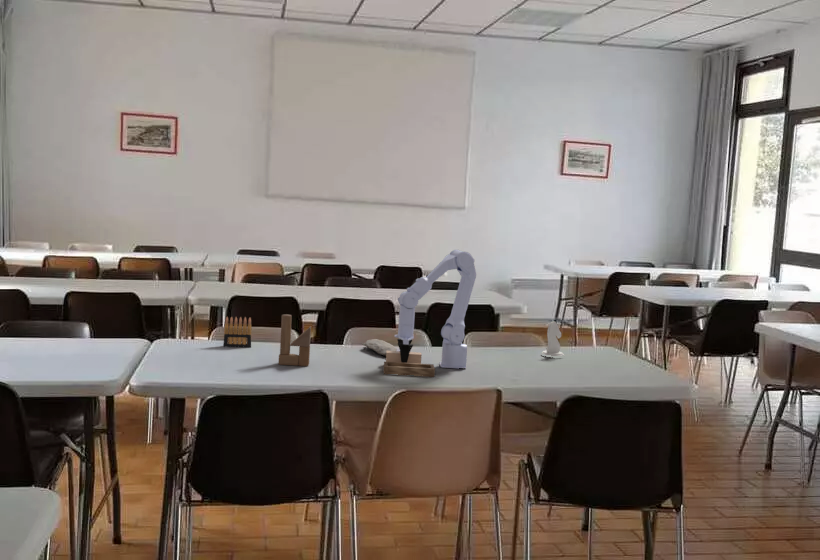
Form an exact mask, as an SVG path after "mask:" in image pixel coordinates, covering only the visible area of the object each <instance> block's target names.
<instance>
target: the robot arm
mask: <svg viewBox="0 0 820 560" xmlns="http://www.w3.org/2000/svg"><path fill="white" fill-rule="evenodd" d="M451 270H452V271H453V270H457V272H458V274H459V275H460V280H459V285H458V287H457V290H456V291H457V292H456V295H455V298H454V302H453V306H452V308H451V313H450V315H449V317H448V318H447V319H446V321H445V324H444V325H443V326H442V328H441V331H440V335H441V337H442V338H443V341H442V345H441V346H442V347H441V349H442V350H441V360H440V362H439V366H440V368H445V369H459V368H466V369H467V363H468V362H467V360H468V359H467V356H468V345H467V344H465V343H463V342H464V340H465V328H466V325H465V317H466V313H467V310H468V307H469V302H470V299H471V295H472V292H473V289H474V285H475V281H476V278H477V271H476V265H475V258H474V257H473V256H472V254H471V253H470V252H468V251H462V250H459V249H453V250H452V251H450V253H449V254H447V255H446V256H444V258H443V259H442V260H441V261H440V262H439V263H438V264H437V265H436V266H435V267H434V268H433V269H432V270H431V271H430V272H429V274H428V275H426V276H425V277H424V276H421V277H420V278H416V279H415V282H414V283H413V284H412V285H411V286H409V287H406V291H403V292H401V293H400V294H399V297H397V301H398V304H399V313H398V314H399V315H398V328H397V329H398V330H397V334H394V338H397V339H396V340H397V346H398V348H399V351H400V355H401V362H405V363H407V361H408V357H409V353H410V352H412V351H411V350H412V348H413V347H414V344H413V343H412V342H413V339H414V337H415V336H414V332H415V331H414V330H415V317H416V316H415V315H416V313H415V312H416V307H417V306H418V304H419V300H421V299H422V298H423V297H425V295H427V293H428V292H429V291H430V290H432V287H433V284H434V282H436V281H437V280H438V279H439V278H441V276H443V275H444V274H446V273H447V272H448V271H451Z"/></svg>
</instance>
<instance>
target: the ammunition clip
mask: <svg viewBox="0 0 820 560" xmlns="http://www.w3.org/2000/svg"><path fill="white" fill-rule="evenodd" d="M233 319H234V320H233ZM238 320H239V321H238ZM223 330H224V333H223V345H222V346H223V348H245V349H246V348H250V349H251V348H252V317H249V318H248V322H247V317H246V316H244V318H243V319H242V316H240V317H239V319H238V318H237V316H235V317H234V318H233V316H231V317H230V320H229V317H228V316H226V318H225V322H224V329H223Z"/></svg>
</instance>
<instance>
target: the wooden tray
mask: <svg viewBox="0 0 820 560" xmlns="http://www.w3.org/2000/svg"><path fill="white" fill-rule="evenodd" d="M435 370H436V368H435V365H434V364H432V363H421V364H418V363H400V362H386V361H383V375H388V374H398V375H397V376H407V375H414V376H413V377H426V378H427V377H429V378H435V374H436V373H435V372H436V371H435Z"/></svg>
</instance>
